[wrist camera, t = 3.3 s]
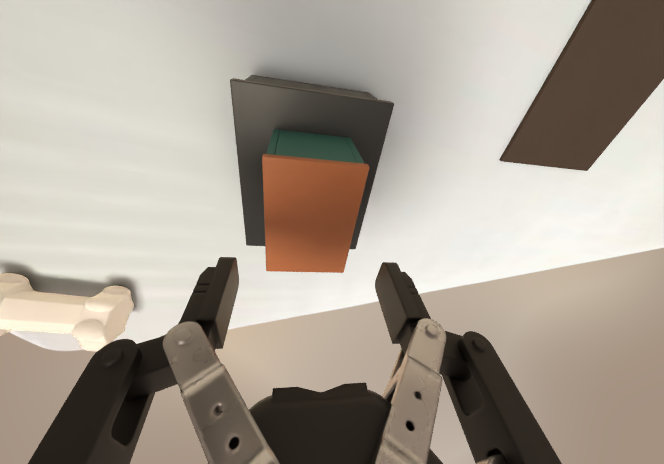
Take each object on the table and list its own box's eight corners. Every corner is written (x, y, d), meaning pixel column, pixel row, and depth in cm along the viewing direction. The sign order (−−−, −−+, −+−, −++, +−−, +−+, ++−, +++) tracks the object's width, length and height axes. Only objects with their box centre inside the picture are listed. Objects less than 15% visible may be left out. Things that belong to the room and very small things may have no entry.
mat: (607, -27, 20) (612, -29, 19) (719, 5, 22) (725, 4, 22) (499, 160, 29) (501, 161, 29) (584, 169, 32) (587, 170, 31)
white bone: (132, 276, 35) (95, 328, 28) (139, 310, 40) (108, 362, 33) (-6, 258, 30) (-86, 315, 24) (20, 299, 35) (-41, 355, 29)
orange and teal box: (272, 127, 18) (262, 156, 13) (352, 136, 19) (369, 166, 14) (273, 225, 23) (266, 271, 19) (335, 229, 24) (343, 272, 20)
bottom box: (247, 70, 21) (229, 79, 16) (372, 89, 23) (394, 103, 18) (256, 209, 30) (246, 245, 25) (346, 214, 32) (355, 249, 26)
